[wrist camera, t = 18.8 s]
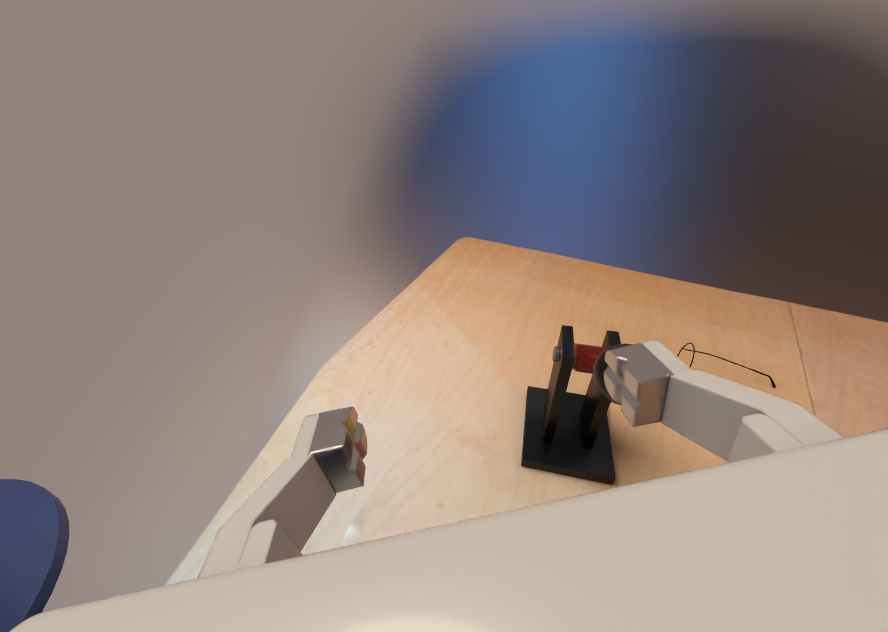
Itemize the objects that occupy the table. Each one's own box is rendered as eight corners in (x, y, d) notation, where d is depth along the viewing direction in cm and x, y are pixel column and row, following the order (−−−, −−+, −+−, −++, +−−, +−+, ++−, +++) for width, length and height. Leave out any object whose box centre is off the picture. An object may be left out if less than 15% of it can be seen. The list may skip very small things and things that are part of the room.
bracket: (612, 484, 35) (659, 396, 26) (520, 465, 37) (537, 378, 28) (602, 404, 43) (637, 315, 34) (526, 392, 45) (541, 305, 36)
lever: (669, 418, 18) (677, 350, 18) (596, 406, 19) (604, 340, 19) (602, 378, 33) (606, 341, 33) (562, 372, 34) (567, 336, 34)
